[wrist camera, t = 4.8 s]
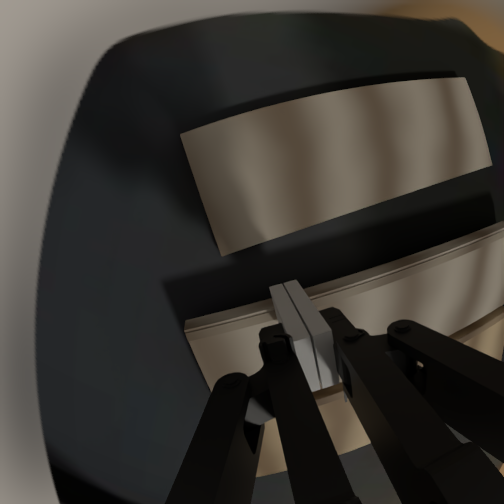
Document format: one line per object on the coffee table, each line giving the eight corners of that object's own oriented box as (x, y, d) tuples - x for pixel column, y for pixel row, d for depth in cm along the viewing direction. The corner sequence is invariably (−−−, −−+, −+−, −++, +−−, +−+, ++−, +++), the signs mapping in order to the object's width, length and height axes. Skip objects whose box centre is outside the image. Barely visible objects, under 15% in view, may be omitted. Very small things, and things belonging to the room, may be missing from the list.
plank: (221, 253, 20) (221, 256, 19) (182, 138, 19) (179, 134, 17) (483, 165, 20) (492, 165, 19) (456, 80, 19) (464, 77, 18)
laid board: (251, 469, 23) (252, 478, 22) (225, 412, 22) (225, 422, 20) (492, 367, 24) (499, 372, 23) (500, 305, 22) (508, 308, 21)
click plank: (221, 403, 21) (222, 415, 20) (185, 320, 19) (183, 331, 18) (500, 296, 22) (508, 301, 21) (507, 219, 20) (517, 222, 18)
